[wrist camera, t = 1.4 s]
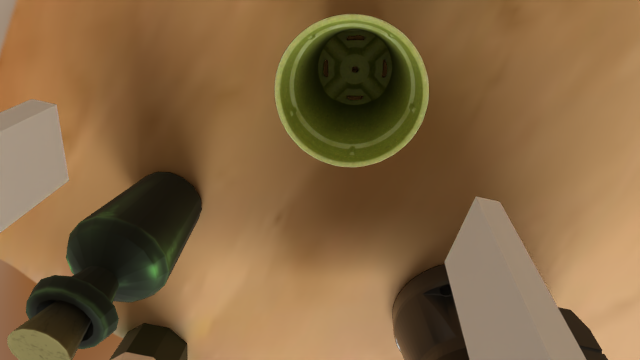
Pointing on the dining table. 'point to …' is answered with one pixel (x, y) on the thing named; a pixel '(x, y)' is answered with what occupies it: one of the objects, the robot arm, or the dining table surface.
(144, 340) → the wine bottle
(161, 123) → the dining table surface
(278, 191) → the dining table surface
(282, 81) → the plant pot
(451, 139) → the dining table surface
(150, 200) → the potion bottle
